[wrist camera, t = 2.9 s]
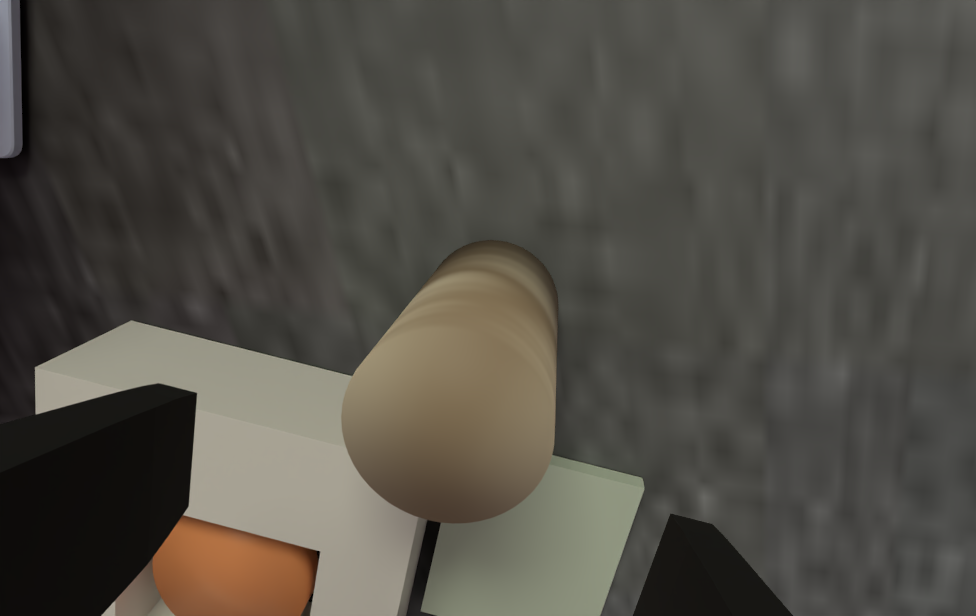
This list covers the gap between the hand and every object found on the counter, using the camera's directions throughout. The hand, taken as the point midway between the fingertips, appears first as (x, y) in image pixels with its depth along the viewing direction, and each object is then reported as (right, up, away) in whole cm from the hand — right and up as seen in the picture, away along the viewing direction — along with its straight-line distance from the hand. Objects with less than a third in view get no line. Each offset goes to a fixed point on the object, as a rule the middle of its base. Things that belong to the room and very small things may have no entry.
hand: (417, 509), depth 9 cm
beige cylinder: (+1, +3, +10) cm, 10 cm away
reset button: (-7, -5, +12) cm, 14 cm away
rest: (+2, -5, +12) cm, 13 cm away
